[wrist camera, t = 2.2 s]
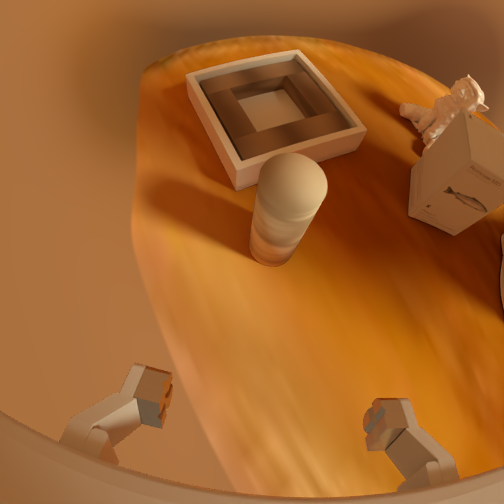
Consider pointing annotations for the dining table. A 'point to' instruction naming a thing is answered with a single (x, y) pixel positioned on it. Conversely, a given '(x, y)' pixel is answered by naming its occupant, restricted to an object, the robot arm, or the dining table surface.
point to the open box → (272, 118)
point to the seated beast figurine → (444, 109)
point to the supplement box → (459, 175)
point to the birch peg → (284, 206)
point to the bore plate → (264, 81)
